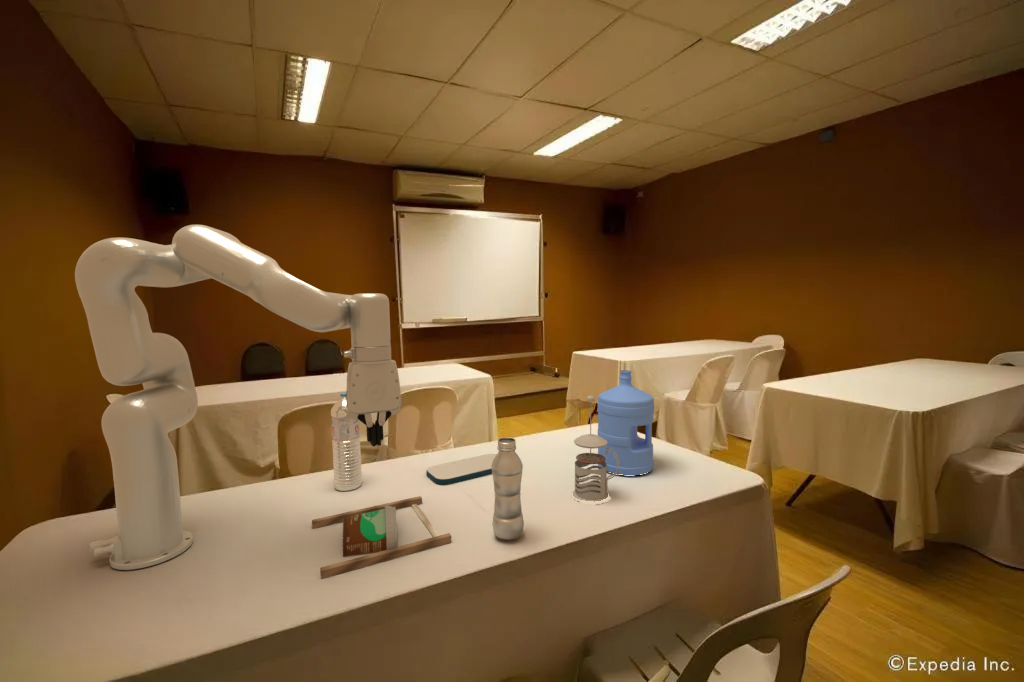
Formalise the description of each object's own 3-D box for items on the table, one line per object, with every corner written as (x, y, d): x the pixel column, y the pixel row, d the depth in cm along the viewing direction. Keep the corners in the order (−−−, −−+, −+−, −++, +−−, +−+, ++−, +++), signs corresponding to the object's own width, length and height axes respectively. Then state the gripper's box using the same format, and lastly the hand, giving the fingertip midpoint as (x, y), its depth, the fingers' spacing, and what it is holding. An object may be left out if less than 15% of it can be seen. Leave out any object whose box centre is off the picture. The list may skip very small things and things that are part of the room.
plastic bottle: (496, 547, 86) (494, 446, 85) (489, 530, 93) (487, 436, 91) (528, 541, 88) (527, 443, 86) (518, 525, 94) (517, 434, 93)
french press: (575, 485, 115) (574, 390, 113) (620, 491, 111) (621, 393, 109) (566, 501, 106) (566, 398, 104) (615, 508, 102) (616, 401, 100)
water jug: (592, 473, 123) (592, 373, 121) (603, 455, 137) (603, 366, 135) (650, 481, 117) (651, 376, 115) (655, 461, 131) (656, 368, 129)
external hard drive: (495, 458, 137) (494, 452, 137) (515, 469, 128) (515, 463, 128) (423, 475, 125) (422, 468, 125) (439, 488, 115) (439, 481, 115)
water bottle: (353, 492, 112) (348, 396, 110) (328, 491, 114) (324, 395, 112) (367, 482, 119) (363, 390, 117) (344, 480, 120) (339, 390, 118)
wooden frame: (321, 578, 77) (320, 571, 77) (312, 526, 95) (311, 519, 95) (451, 542, 88) (451, 535, 88) (420, 501, 107) (420, 496, 107)
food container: (345, 501, 93) (394, 494, 96) (346, 529, 94) (395, 521, 97) (341, 529, 82) (396, 520, 85) (342, 560, 82) (398, 551, 85)
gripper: (334, 359, 82) (338, 456, 83) (413, 354, 89) (416, 443, 90) (329, 355, 88) (334, 445, 90) (404, 351, 96) (406, 434, 97)
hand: (375, 444), depth 90 cm, fingers closed
